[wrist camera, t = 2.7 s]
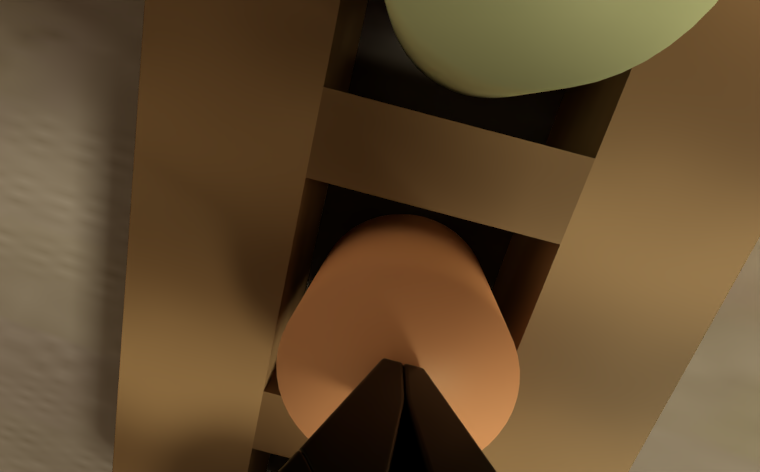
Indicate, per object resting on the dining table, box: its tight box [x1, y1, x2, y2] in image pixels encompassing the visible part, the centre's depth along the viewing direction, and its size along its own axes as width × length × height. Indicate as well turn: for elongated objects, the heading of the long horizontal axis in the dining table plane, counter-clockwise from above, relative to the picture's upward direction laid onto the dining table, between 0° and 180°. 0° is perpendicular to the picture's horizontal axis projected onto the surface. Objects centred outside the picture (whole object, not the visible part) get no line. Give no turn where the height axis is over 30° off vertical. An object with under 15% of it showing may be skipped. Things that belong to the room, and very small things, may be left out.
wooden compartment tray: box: [112, 0, 760, 472], centre depth 12 cm, size 24×14×4 cm, turn 166°
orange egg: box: [276, 214, 520, 450], centre depth 10 cm, size 5×5×4 cm
